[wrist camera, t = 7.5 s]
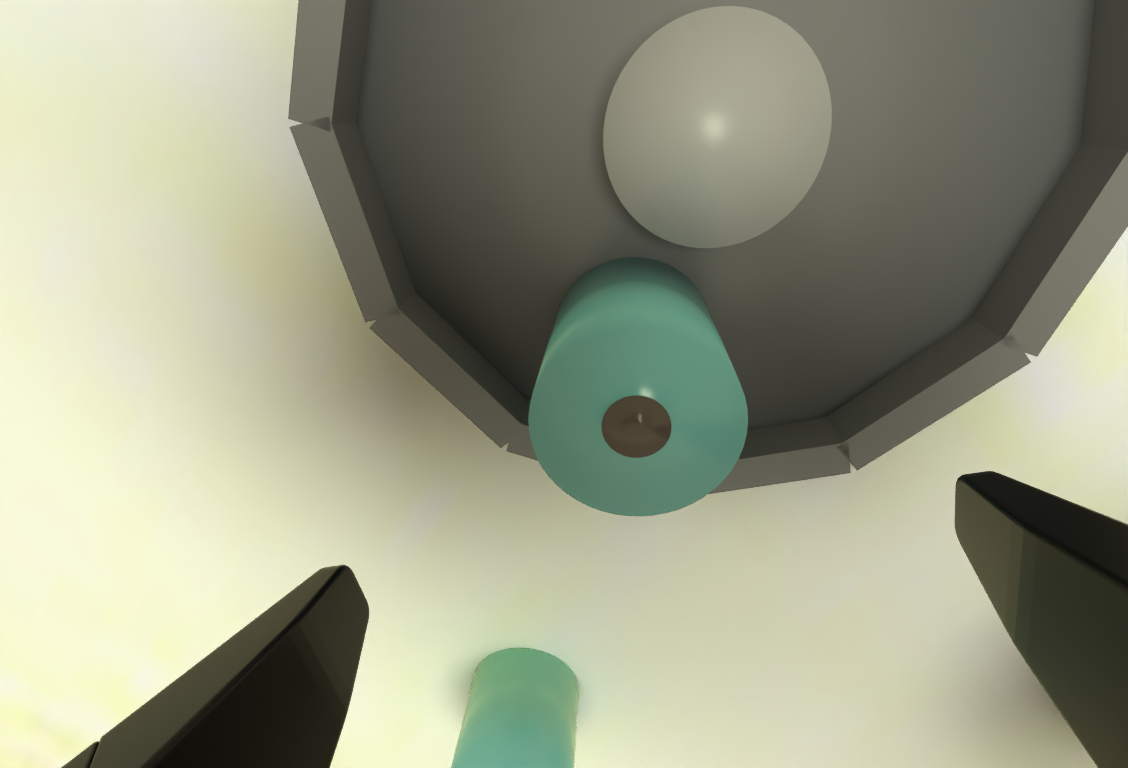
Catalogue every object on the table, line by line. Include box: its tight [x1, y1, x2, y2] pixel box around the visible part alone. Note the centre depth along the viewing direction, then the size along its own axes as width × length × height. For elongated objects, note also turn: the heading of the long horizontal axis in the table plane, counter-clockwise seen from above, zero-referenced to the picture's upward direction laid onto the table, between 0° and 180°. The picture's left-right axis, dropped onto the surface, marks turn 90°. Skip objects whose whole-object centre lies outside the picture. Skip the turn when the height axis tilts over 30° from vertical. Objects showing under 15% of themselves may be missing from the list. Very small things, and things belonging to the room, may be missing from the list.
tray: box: [288, 0, 1128, 494], centre depth 15 cm, size 19×19×2 cm
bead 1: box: [451, 648, 579, 768], centre depth 23 cm, size 4×4×6 cm
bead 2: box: [528, 257, 748, 516], centre depth 15 cm, size 4×4×6 cm
